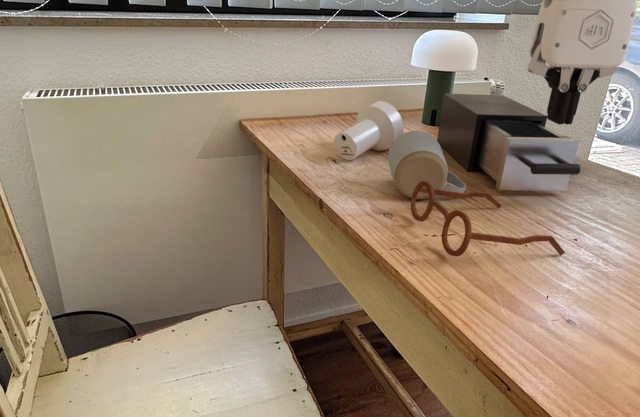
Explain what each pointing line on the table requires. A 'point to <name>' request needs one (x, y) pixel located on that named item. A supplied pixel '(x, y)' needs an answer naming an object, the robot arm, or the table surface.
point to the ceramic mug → (420, 165)
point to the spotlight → (370, 131)
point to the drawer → (526, 155)
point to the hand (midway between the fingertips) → (558, 121)
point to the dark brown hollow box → (476, 122)
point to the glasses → (467, 220)
